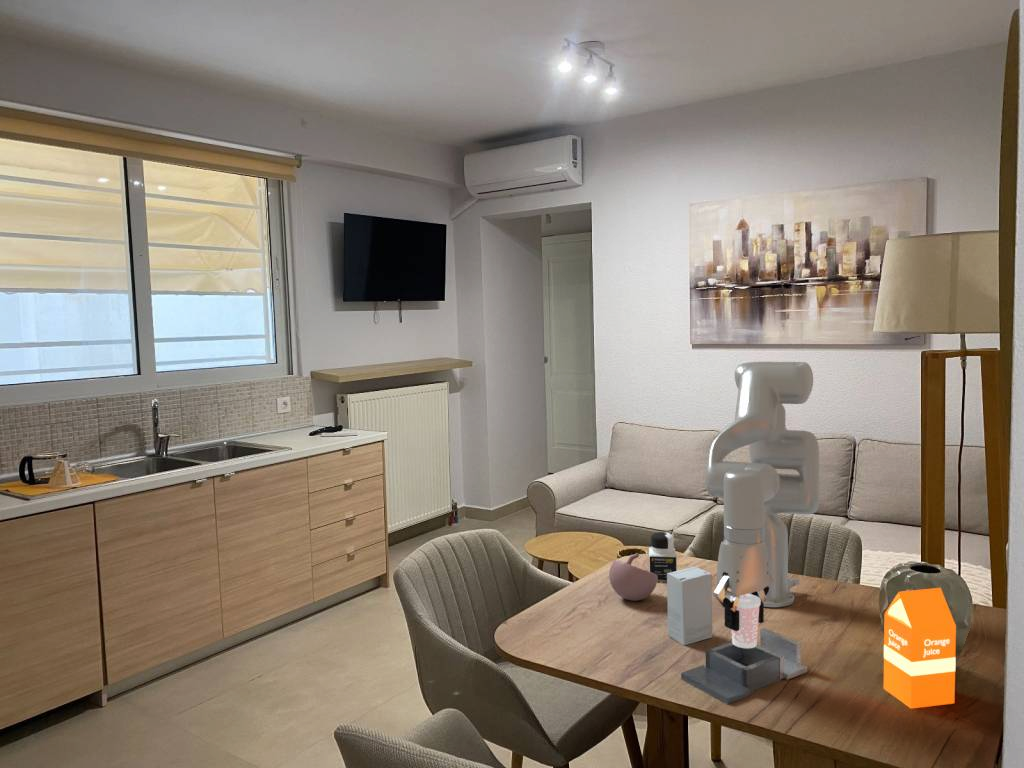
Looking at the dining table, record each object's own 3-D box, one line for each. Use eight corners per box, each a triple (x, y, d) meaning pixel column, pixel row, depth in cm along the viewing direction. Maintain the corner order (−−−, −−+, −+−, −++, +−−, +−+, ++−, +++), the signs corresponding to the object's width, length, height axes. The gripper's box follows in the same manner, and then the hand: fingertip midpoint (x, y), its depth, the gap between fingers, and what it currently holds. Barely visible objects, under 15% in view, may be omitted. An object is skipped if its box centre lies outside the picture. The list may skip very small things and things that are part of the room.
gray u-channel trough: (758, 650, 158) (758, 625, 158) (807, 671, 148) (807, 645, 148) (735, 658, 155) (735, 633, 154) (783, 681, 144) (783, 654, 144)
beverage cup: (742, 652, 143) (742, 580, 142) (721, 640, 149) (721, 571, 147) (767, 646, 145) (767, 575, 144) (746, 634, 151) (745, 566, 150)
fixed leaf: (734, 659, 155) (734, 638, 154) (782, 682, 144) (782, 660, 144) (681, 678, 147) (680, 656, 147) (727, 704, 137) (727, 680, 136)
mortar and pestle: (667, 599, 189) (667, 554, 188) (636, 611, 181) (635, 565, 181) (631, 587, 198) (630, 544, 197) (599, 598, 191) (599, 554, 190)
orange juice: (955, 703, 135) (957, 595, 133) (911, 709, 134) (912, 599, 132) (924, 683, 143) (926, 580, 141) (882, 688, 141) (883, 584, 140)
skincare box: (696, 629, 170) (695, 565, 169) (714, 638, 165) (713, 572, 164) (666, 636, 167) (665, 571, 166) (683, 647, 161) (682, 579, 160)
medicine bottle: (649, 581, 202) (649, 537, 202) (649, 572, 210) (648, 530, 209) (676, 581, 201) (676, 538, 200) (675, 573, 208) (675, 530, 207)
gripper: (759, 523, 153) (759, 609, 154) (697, 537, 144) (697, 628, 146) (789, 531, 147) (789, 621, 148) (726, 546, 138) (727, 641, 139)
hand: (744, 623), depth 147 cm, fingers closed on beverage cup, 6 cm apart
